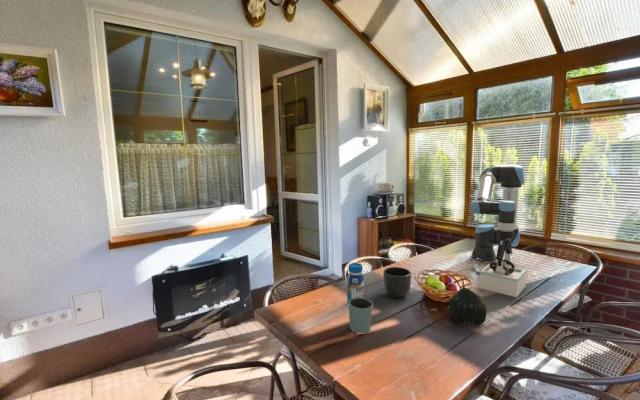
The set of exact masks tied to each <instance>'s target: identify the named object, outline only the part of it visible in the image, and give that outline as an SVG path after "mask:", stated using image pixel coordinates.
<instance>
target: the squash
mask: <svg viewBox="0 0 640 400" xmlns="http://www.w3.org/2000/svg"><path fill="white" fill-rule="evenodd" d="M448 309H449V310H448V311H449V313H450V315H451V316H452V318H453V319H455V321H456V322H457V323H458V324H465V325H468V324H474V325H476V326H479V325H482V324H484V323H485V321H486V318H487V311H488V310H487V309H488V308H487V305H486V303H485V301H484V299H483V298H482V297H481V296H480V295H478V294H477V293H475V292H474V291H473V290H471V289H469V288H467V287H465V286H463V287H462V288H460V289H459V290H458V291H457V292H456V293H454V294H453V296H451V298H450V299H449V303H448Z"/></svg>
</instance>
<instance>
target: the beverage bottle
mask: <svg viewBox="0 0 640 400" xmlns="http://www.w3.org/2000/svg"><path fill="white" fill-rule="evenodd" d="M348 272H349V273H348V275H347V276H346V279H347V281H346V287H347V292H346V293H347V294H346V296H347V297H346V298H347V299H346V300H347V305H348V304H349V303H348V302H349V300H350V299H352V298H357V297H361V298H365V282H364V280H365V276H364V275H363V264H361V263H359V262H351V263H349V264H348Z"/></svg>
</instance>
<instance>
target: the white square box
mask: <svg viewBox="0 0 640 400" xmlns="http://www.w3.org/2000/svg"><path fill="white" fill-rule="evenodd" d="M490 263H491V262H490ZM490 263H488V264H487V265H486V266H485V267H483V268H482V269H481V270H479V280H478V281H479V282H478V288H479V289H482V290H487V291H490V292H494V293H498V294H503V295H505V296H509V297H513V298H518V296H519V295H520V294H521V293H522V291H523V290H524V289H525V288H526V280H527V269H524V268H519V267H515V268H514V272H513V273H512V274H509V275H508V276H506V275H505V273H506V271H505V270H504V269H503V272H498V271H497V269H496V271H493V269H491V268H490V266H489V264H490ZM494 266H495V265H493V267H494ZM505 266H506V267H507V270H509V268H512V267H511V265H510V266H508V265H505Z"/></svg>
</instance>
